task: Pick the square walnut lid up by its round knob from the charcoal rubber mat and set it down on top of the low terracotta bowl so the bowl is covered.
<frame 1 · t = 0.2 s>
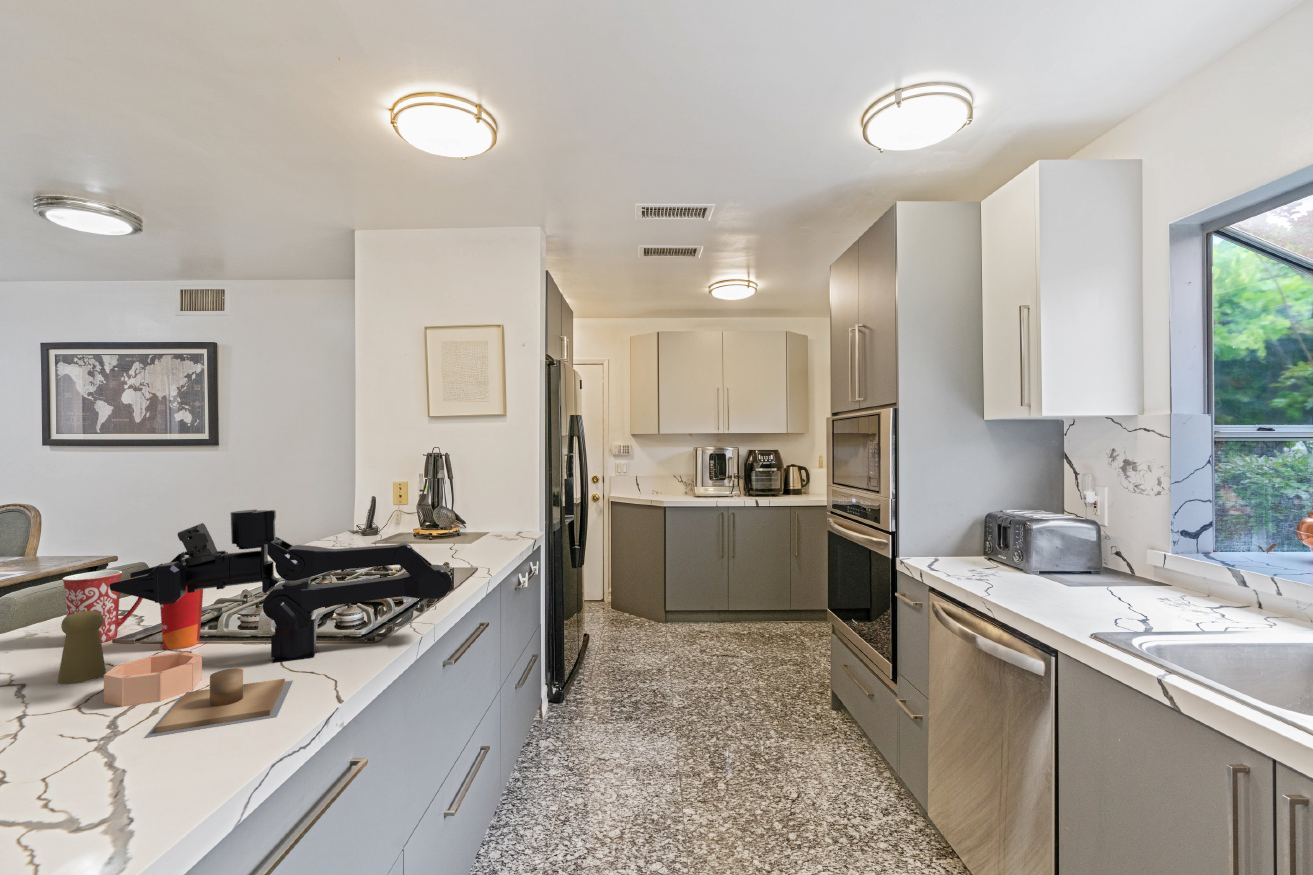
hand: (120, 581, 102), 17 cm above the worktop, tool horizontal, fingers open, 9 cm apart
lid: (226, 705, 89), resting on mat
paper cup: (181, 646, 120), on the worktop
bowl: (154, 692, 96), on the worktop
mug: (104, 640, 124), on the worktop
olive pepper mill: (82, 678, 103), on the worktop
mat: (226, 708, 89), on the worktop
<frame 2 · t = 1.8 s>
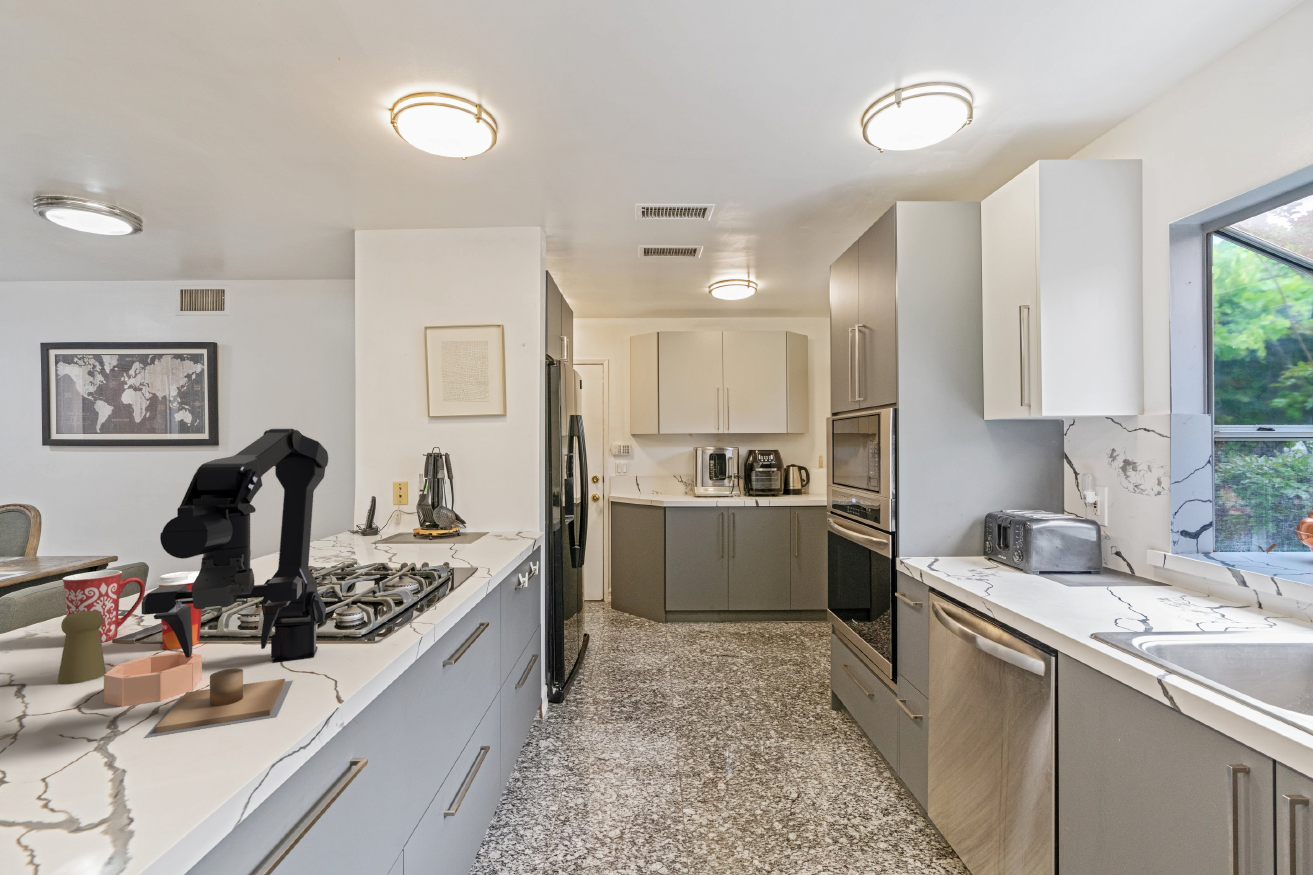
hand: (226, 652, 90), 8 cm above the worktop, tool pointing down, fingers open, 9 cm apart
nothing on the worktop moved.
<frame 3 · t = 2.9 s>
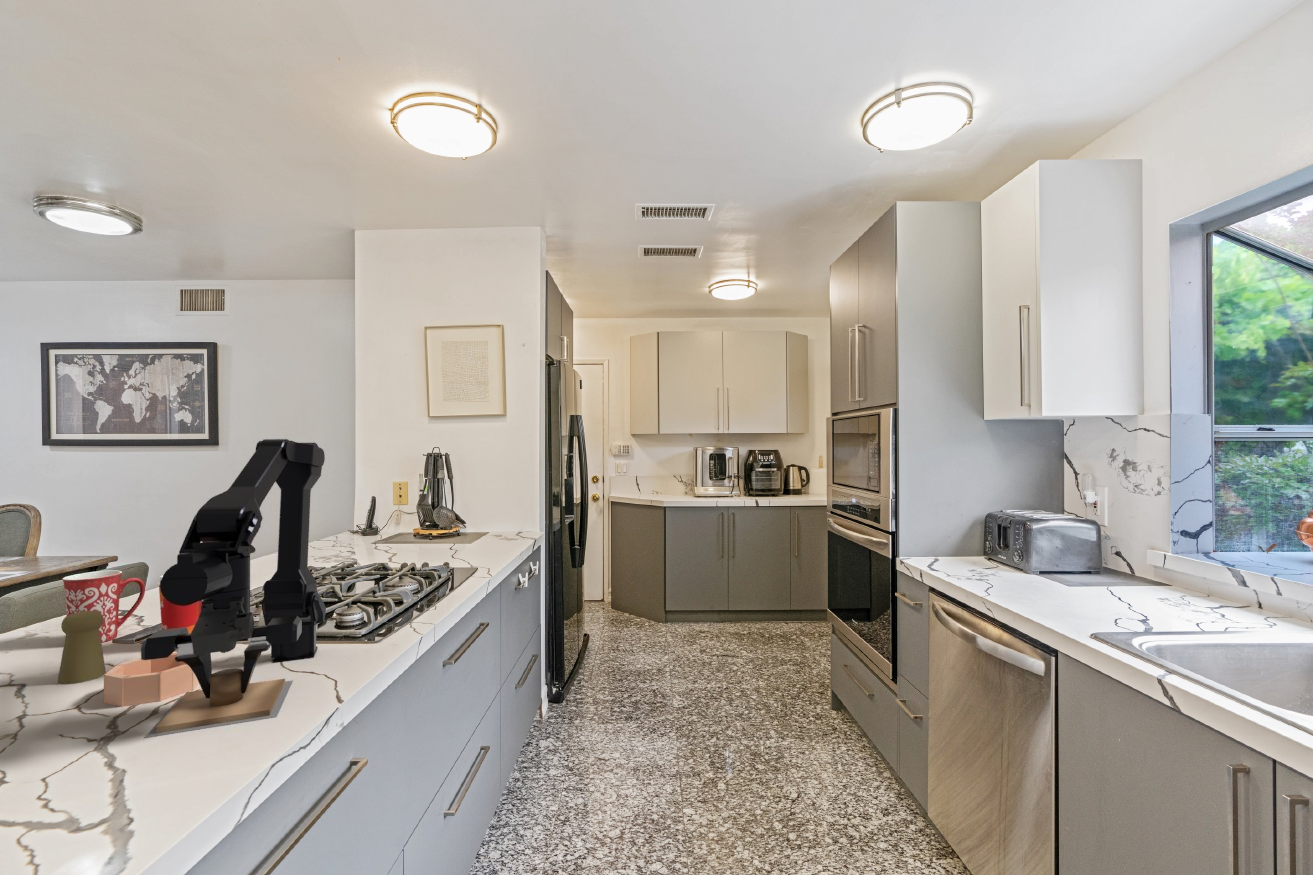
hand: (226, 694, 89), 2 cm above the worktop, tool pointing down, fingers closed on lid, 4 cm apart
lid: (226, 705, 89), resting on mat, touching gripper
everything else where it was.
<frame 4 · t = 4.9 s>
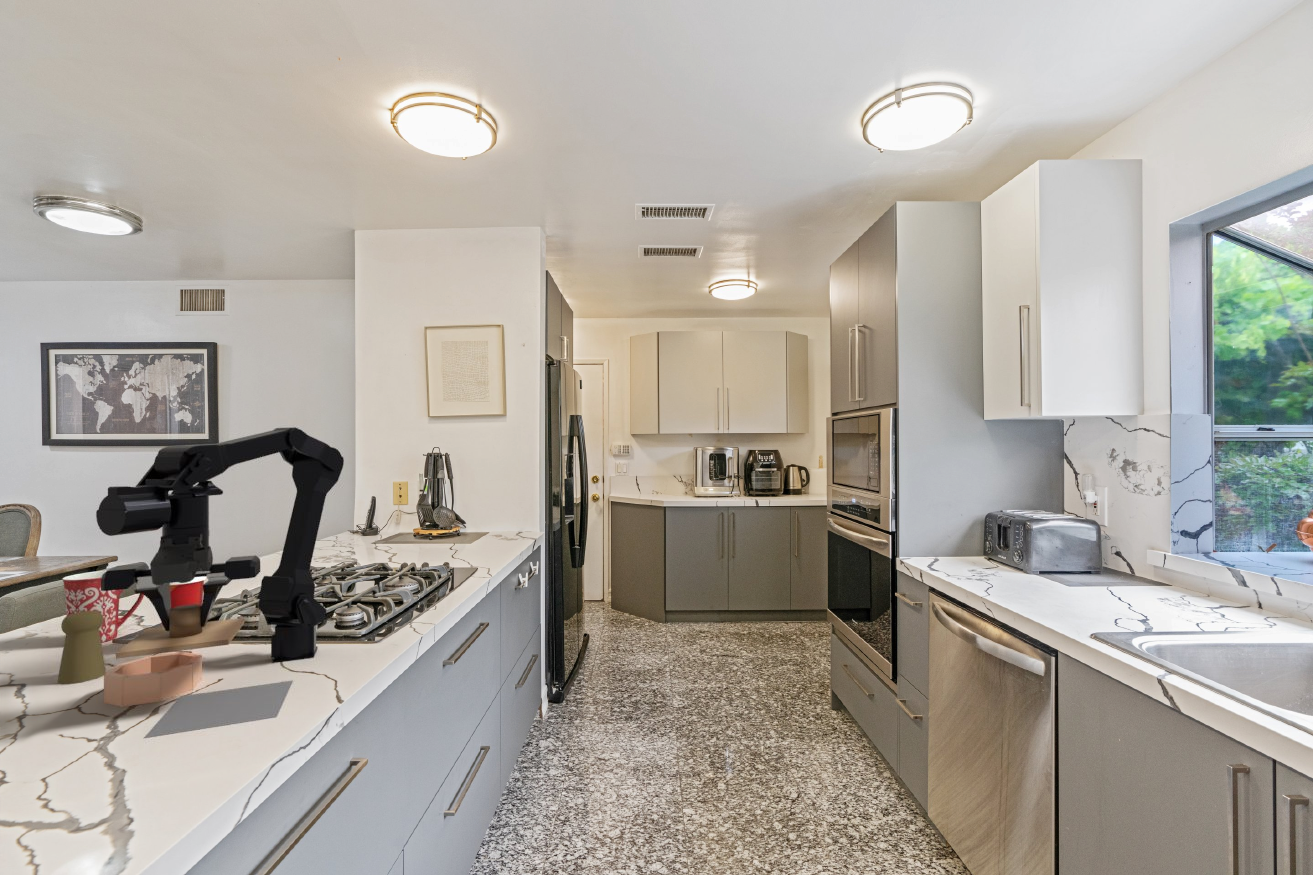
hand: (185, 628, 93), 11 cm above the worktop, tool pointing down, fingers closed on lid, 4 cm apart
lid: (186, 638, 93), point 9 cm above the worktop, touching gripper
everything else where it was.
when the fingers open (8 cm above the worktop, at t = 6.8 s): lid drops 2 cm, resting on bowl.
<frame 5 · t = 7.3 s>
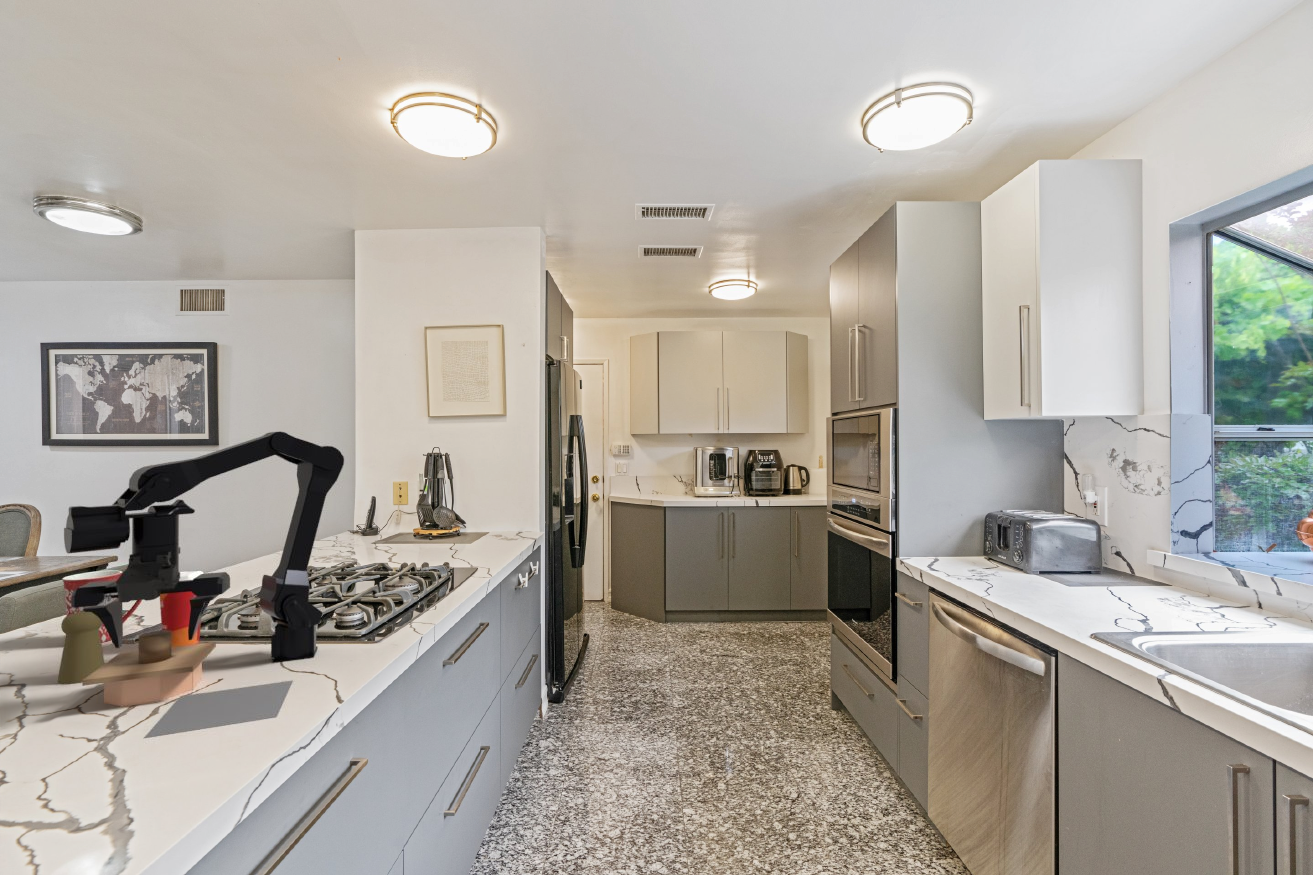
hand: (155, 643, 96), 8 cm above the worktop, tool pointing down, fingers open, 9 cm apart
lid: (155, 664, 96), point 4 cm above the worktop, touching bowl
everything else where it was.
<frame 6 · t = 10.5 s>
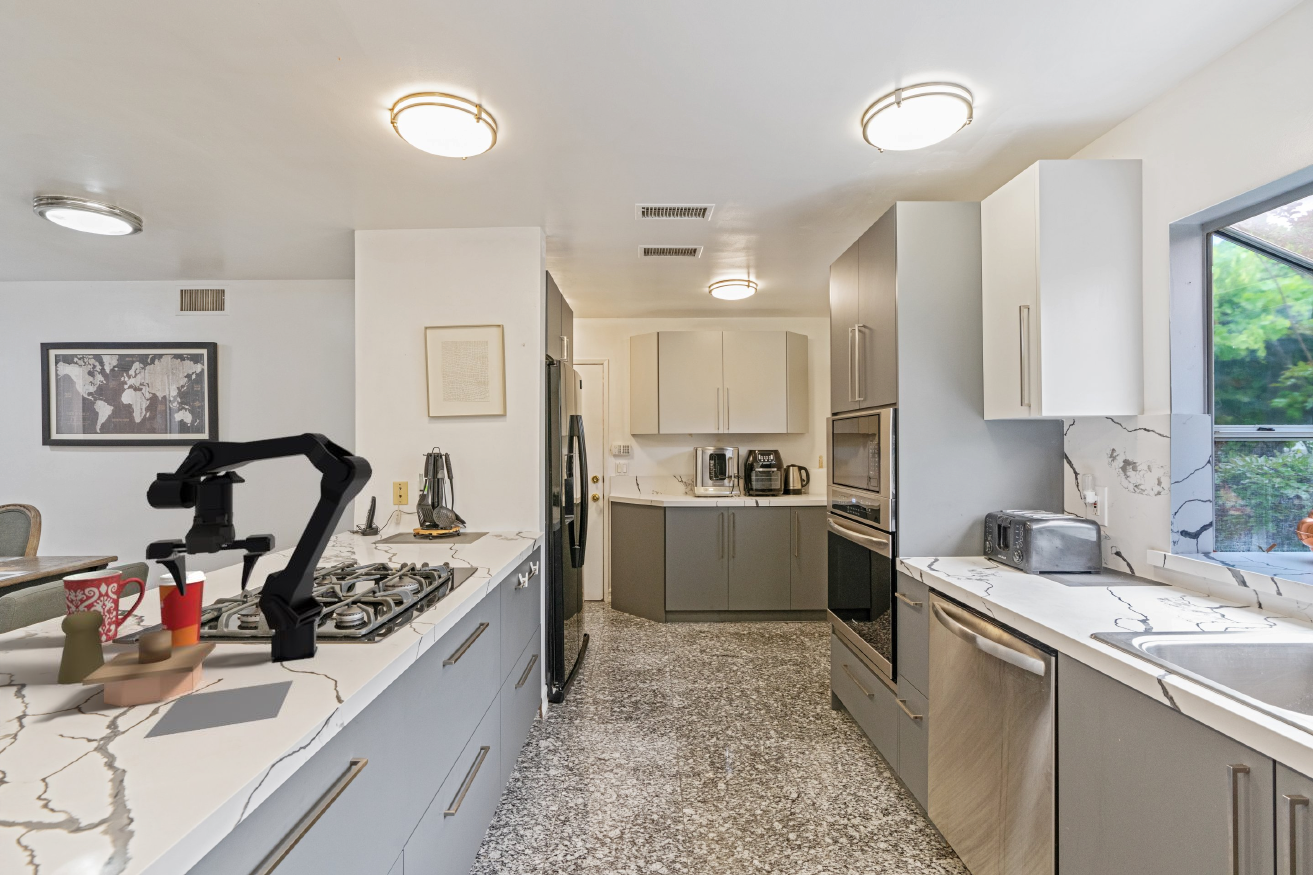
hand: (213, 592, 112), 12 cm above the worktop, tool pointing down, fingers open, 9 cm apart
nothing on the worktop moved.
at the end: lid 0.1 cm off-centre on the bowl, point 4.5 cm above the bowl's base; lid tilted 0°; the gripper is holding nothing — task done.
